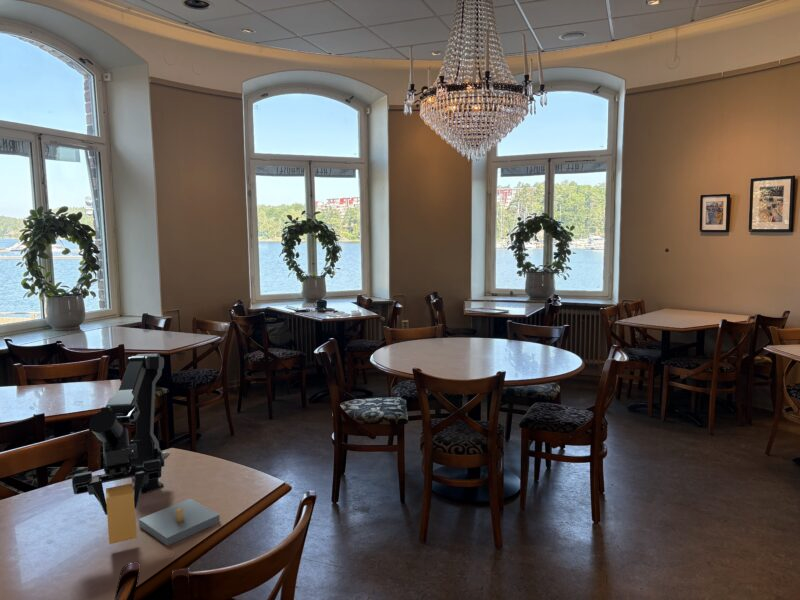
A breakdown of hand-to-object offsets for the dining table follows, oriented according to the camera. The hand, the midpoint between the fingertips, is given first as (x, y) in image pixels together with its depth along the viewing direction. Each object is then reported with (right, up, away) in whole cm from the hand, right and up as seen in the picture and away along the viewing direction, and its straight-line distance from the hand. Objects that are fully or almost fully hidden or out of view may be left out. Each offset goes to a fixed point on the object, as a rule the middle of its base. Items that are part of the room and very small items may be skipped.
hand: (121, 511), depth 126 cm
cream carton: (-1, -6, +2) cm, 7 cm away
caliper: (-15, -5, +49) cm, 52 cm away
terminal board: (+8, -8, +13) cm, 18 cm away
